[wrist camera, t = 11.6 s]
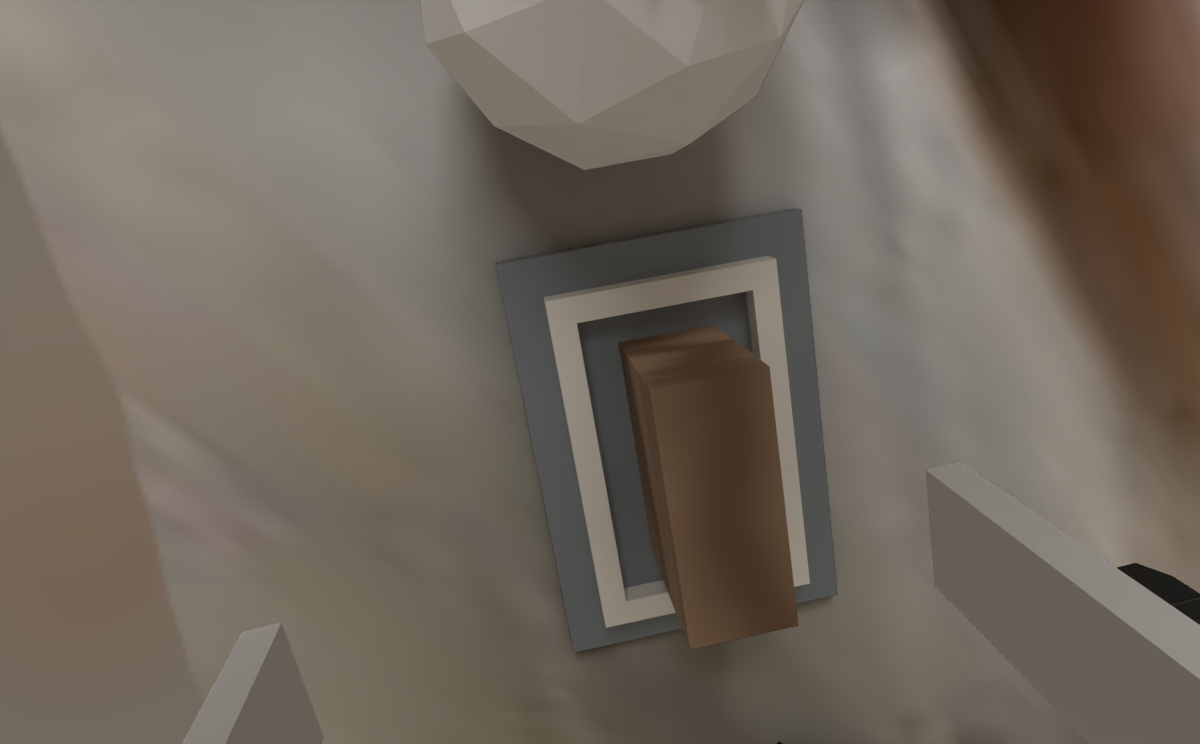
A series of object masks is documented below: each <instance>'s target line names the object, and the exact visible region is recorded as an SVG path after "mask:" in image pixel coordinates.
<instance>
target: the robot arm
mask: <svg viewBox="0 0 1200 744" xmlns="http://www.w3.org/2000/svg"><path fill="white" fill-rule="evenodd" d="M926 481H927V494H928V507H929V519H930V532H931V545H932V558H933V571H934V584H935V587H936V588H937V589H938V590H939V591H940V592H941V593H942V594H943V595H944V596H945V597H946V598H947V599H948V600H949V601H950V602H951V603H952V604H953V605H954V606H955V607H956V608H957V609H958V610H959V611H960V612H961V613H962V614H963V615H964V616H965V617H966V618H967V619H968V620H969V621H970V622H971V623H972V624H973V625H974V626H975V627H976V628H977V629H978V630H979V631H980V632H981V633H982V634H983V635H984V637H985V638H986V639H987V640H988V641H989V642H990V643H991V644H992V645H993V646H994V647H995V648H996V649H997V650H998V651H999V652H1000V653H1001V654H1002V655H1003V656H1004V657H1005V658H1006V659H1007V660H1008V661H1009V662H1010V663H1011V664H1012V665H1013V666H1014V667H1015V668H1016V669H1017V670H1018V671H1019V672H1020V673H1021V674H1022V675H1023V676H1024V677H1025V678H1026V679H1027V680H1028V681H1029V682H1030V683H1031V684H1032V685H1033V686H1034V687H1035V688H1036V689H1037V690H1038V691H1039V692H1040V693H1041V694H1042V695H1043V696H1044V698H1045V699H1046V700H1047V701H1048V702H1049V703H1050V704H1051V705H1052V706H1053V707H1054V708H1055V709H1056V710H1057V711H1058V712H1059V713H1060V714H1061V715H1062V716H1063V717H1064V718H1065V719H1066V720H1067V721H1068V722H1069V723H1070V724H1071V725H1072V726H1073V727H1074V728H1075V729H1076V730H1077V731H1078V732H1079V733H1080V734H1081V735H1082V736H1083V737H1084V738H1085V739H1086V740H1087V741H1088V742H1089V743H1090V744H1200V594H1199V593H1198V592H1196V591H1195V590H1193V589H1192V588H1190V587H1188V586H1187V585H1185V584H1184V583H1182V582H1181V581H1179V580H1178V579H1176V578H1174V577H1173V576H1170V575H1168V574H1165V573H1162V572H1159V571H1157V570H1154V569H1151V568H1148V567H1145V566H1143V565H1140V564H1137V563H1134V564H1130V565H1126V566H1122V567H1118V568H1116V567H1115V566H1113V565H1112V564H1110V563H1109V562H1107V561H1106V560H1104V559H1103V558H1101V557H1100V556H1099V555H1097V554H1096V553H1094V552H1093V551H1091V550H1090V549H1088V548H1087V547H1085V546H1084V545H1083V544H1081V543H1080V542H1078V541H1077V540H1075V539H1074V538H1072V537H1071V536H1069V535H1068V534H1067V533H1065V532H1064V531H1062V530H1061V529H1059V528H1058V527H1056V526H1055V525H1053V524H1052V523H1050V522H1049V521H1048V520H1046V519H1045V518H1043V517H1042V516H1040V515H1039V514H1037V513H1036V512H1034V511H1033V510H1032V509H1030V508H1029V507H1027V506H1026V505H1024V504H1023V503H1021V502H1020V501H1018V500H1017V499H1016V498H1014V497H1013V496H1011V495H1010V494H1008V493H1007V492H1005V491H1004V490H1002V489H1001V488H1000V487H998V486H997V485H995V484H994V483H992V482H991V481H989V480H988V479H986V478H985V477H983V476H982V475H981V474H979V473H978V472H976V471H975V470H973V469H972V468H970V467H969V466H967V465H966V464H965V463H963V462H962V461H960V462H956V463H952V464H948V465H943V466H939V467H935V468H931V469H927V470H926ZM323 737H324V736H323V734H322V731H321V728H320V726H319V723H318V720H317V717H316V715H315V712H314V709H313V707H312V704H311V701H310V698H309V696H308V693H307V690H306V688H305V685H304V682H303V679H302V677H301V674H300V671H299V669H298V666H297V663H296V660H295V658H294V655H293V652H292V650H291V647H290V644H289V641H288V639H287V636H286V633H285V631H284V628H283V625H282V623H277V624H273V625H269V626H265V627H260V628H256V629H252V630H248V631H244V632H242V633H241V634H240V636H239V638H238V640H237V642H236V644H235V646H234V648H233V649H232V651H231V653H230V655H229V657H228V659H227V661H226V663H225V664H224V666H223V668H222V670H221V672H220V674H219V676H218V677H217V679H216V681H215V683H214V685H213V687H212V689H211V691H210V692H209V694H208V696H207V698H206V700H205V702H204V704H203V706H202V707H201V709H200V711H199V713H198V715H197V717H196V719H195V720H194V722H193V724H192V726H191V728H190V730H189V732H188V734H187V735H186V738H185V739H184V741H183V743H182V744H321V743H322V740H323Z"/></svg>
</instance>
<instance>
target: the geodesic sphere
mask: <svg viewBox="0 0 1200 744" xmlns="http://www.w3.org/2000/svg"><path fill="white" fill-rule="evenodd" d="M803 1H804V0H420V2H421V11H422V19H423V27H424V36H425V44H426V46H427V47H428V48H429V49H430V50H431V52H432V53H433V54H434V55H435V56H436V57H437V59H438V60H439V61H440V62H441V63H442V65H443V66H444V67H445V68H446V69H447V71H448V72H449V73H450V74H451V75H452V77H453V78H454V79H455V80H456V81H457V83H458V84H459V85H460V86H461V87H462V89H463V90H464V91H465V92H466V93H467V95H468V96H469V97H470V98H471V99H472V101H473V102H474V103H475V104H476V105H477V107H478V108H479V109H480V110H481V111H482V113H483V114H484V115H485V116H486V117H487V119H488V120H489V121H490V122H491V123H492V125H493V126H495V127H497V128H499V129H501V130H503V131H505V132H507V133H509V134H511V135H513V136H515V137H517V138H519V139H521V140H523V141H526V142H528V143H530V144H532V145H534V146H536V147H538V148H540V149H542V150H544V151H546V152H548V153H550V154H552V155H554V156H556V157H558V158H560V159H562V160H565V161H567V162H569V163H571V164H573V165H575V166H577V167H579V168H581V169H583V170H588V169H593V168H599V167H604V166H610V165H615V164H621V163H626V162H632V161H638V160H643V159H649V158H654V157H660V156H665V155H671V154H673V153H675V152H676V151H678V150H680V149H682V148H683V147H685V146H687V145H689V144H690V143H692V142H693V141H695V140H696V139H697V138H699V137H700V136H702V135H703V134H704V133H706V132H707V131H708V130H710V129H711V128H713V127H714V126H715V125H717V124H718V123H720V122H721V121H722V120H724V119H725V118H727V117H728V116H729V115H731V114H732V113H734V112H735V111H736V110H738V109H739V108H740V107H742V106H743V105H745V104H746V103H747V102H749V101H750V100H752V99H753V98H754V97H756V96H757V95H758V93H759V90H760V88H761V86H762V84H763V82H764V80H765V78H766V76H767V74H768V72H769V70H770V68H771V66H772V64H773V62H774V60H775V58H776V56H777V54H778V52H779V50H780V48H781V46H782V44H783V42H784V40H785V38H786V36H787V34H788V32H789V30H790V28H791V26H792V24H793V22H794V20H795V17H796V15H797V13H798V11H799V9H800V7H801V5H802V3H803Z"/></svg>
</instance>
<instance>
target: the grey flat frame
mask: <svg viewBox="0 0 1200 744" xmlns="http://www.w3.org/2000/svg"><path fill="white" fill-rule="evenodd" d="M496 269H497V273H498V278H499V283H500V288H501V293H502V298H503V303H504V308H505V313H506V318H507V323H508V328H509V333H510V338H511V343H512V348H513V353H514V358H515V363H516V368H517V373H518V377H519V382H520V387H521V392H522V397H523V402H524V407H525V412H526V417H527V422H528V427H529V432H530V437H531V442H532V447H533V452H534V457H535V462H536V467H537V472H538V477H539V481H540V486H541V491H542V496H543V501H544V506H545V511H546V516H547V521H548V526H549V531H550V536H551V541H552V546H553V551H554V556H555V561H556V566H557V571H558V576H559V580H560V585H561V590H562V595H563V600H564V605H565V610H566V615H567V620H568V625H569V630H570V635H571V640H572V645H573V650H574V652H579V651H583V650H588V649H592V648H597V647H602V646H606V645H611V644H615V643H620V642H624V641H629V640H634V639H638V638H643V637H647V636H652V635H656V634H661V633H665V632H670V631H675V630H679V629H682V627H681V625H680V622H679V619H678V617H677V614H676V612H675V609H674V607H673V604H672V601H671V599H670V596H669V594H668V591H667V589H666V586H665V583H664V581H663V578H662V576H661V573H660V571H659V568H658V565H657V563H656V560H655V558H654V555H653V550H652V544H651V538H650V532H649V526H648V520H647V514H646V508H645V501H644V495H643V489H642V483H641V477H640V471H639V465H638V459H637V453H636V447H635V441H634V435H633V429H632V423H631V416H630V410H629V404H628V398H627V392H626V386H625V380H624V374H623V368H622V362H621V356H620V350H619V344H618V342H623V341H629V340H634V339H639V338H644V337H649V336H655V335H660V334H665V333H670V332H676V331H681V330H686V329H691V328H696V327H702V326H707V325H712V324H713V325H715V326H716V327H717V328H719V329H720V330H721V331H723V332H724V333H725V334H727V335H728V336H729V337H731V338H732V339H733V340H735V341H736V342H737V343H739V344H740V345H741V346H743V347H744V348H745V349H747V350H748V351H749V352H751V353H752V354H753V355H755V356H756V357H757V358H759V359H760V360H761V361H763V362H764V363H765V364H767V365H768V366H769V367H770V375H771V384H772V393H773V402H774V411H775V420H776V429H777V438H778V447H779V456H780V465H781V474H782V483H783V492H784V501H785V510H786V519H787V528H788V537H789V546H790V555H791V564H792V573H793V582H794V590H795V599H796V604H798V603H802V602H807V601H812V600H816V599H821V598H825V597H830V596H834V595H838V593H837V583H836V572H835V561H834V551H833V540H832V530H831V519H830V508H829V498H828V487H827V476H826V466H825V455H824V444H823V434H822V423H821V412H820V402H819V391H818V380H817V370H816V359H815V348H814V338H813V327H812V316H811V306H810V295H809V284H808V274H807V263H806V252H805V242H804V231H803V220H802V210H801V209H796V208H795V209H789V210H784V211H778V212H773V213H767V214H762V215H756V216H751V217H745V218H740V219H734V220H729V221H723V222H717V223H712V224H706V225H701V226H695V227H690V228H684V229H679V230H673V231H668V232H662V233H657V234H651V235H646V236H640V237H635V238H629V239H624V240H618V241H613V242H607V243H601V244H596V245H590V246H585V247H579V248H574V249H568V250H563V251H557V252H552V253H546V254H541V255H535V256H530V257H524V258H519V259H513V260H508V261H502V262H497V263H496Z"/></svg>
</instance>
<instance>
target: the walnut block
mask: <svg viewBox="0 0 1200 744" xmlns="http://www.w3.org/2000/svg"><path fill="white" fill-rule="evenodd" d="M618 344H619V350H620V356H621V362H622V368H623V374H624V380H625V386H626V392H627V398H628V404H629V410H630V416H631V423H632V429H633V435H634V441H635V447H636V453H637V459H638V465H639V471H640V477H641V483H642V489H643V495H644V501H645V508H646V514H647V520H648V526H649V532H650V538H651V544H652V550H653V555H654V558H655V560H656V563H657V565H658V568H659V571H660V573H661V576H662V578H663V581H664V583H665V586H666V589H667V591H668V594H669V596H670V599H671V601H672V604H673V607H674V609H675V612H676V614H677V617H678V619H679V622H680V625H681V627H682V630H683V632H684V635H685V637H686V640H687V643H688V645H689V648H690V650H691V649H695V648H700V647H704V646H709V645H713V644H718V643H722V642H727V641H731V640H736V639H740V638H745V637H749V636H754V635H758V634H763V633H767V632H772V631H776V630H781V629H785V628H790V627H794V626H798V617H797V608H796V599H795V590H794V582H793V573H792V564H791V555H790V546H789V537H788V528H787V519H786V510H785V501H784V492H783V483H782V474H781V465H780V456H779V447H778V438H777V429H776V420H775V411H774V402H773V393H772V384H771V375H770V367H769V366H768V365H767V364H765V363H764V362H763V361H761V360H760V359H759V358H757V357H756V356H755V355H753V354H752V353H751V352H749V351H748V350H747V349H745V348H744V347H743V346H741V345H740V344H739V343H737V342H736V341H735V340H733V339H732V338H731V337H729V336H728V335H727V334H725V333H724V332H723V331H721V330H720V329H719V328H717V327H716V326H715V325H713V324H712V325H707V326H702V327H696V328H691V329H686V330H681V331H676V332H670V333H665V334H660V335H655V336H649V337H644V338H639V339H634V340H629V341H623V342H618Z"/></svg>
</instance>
